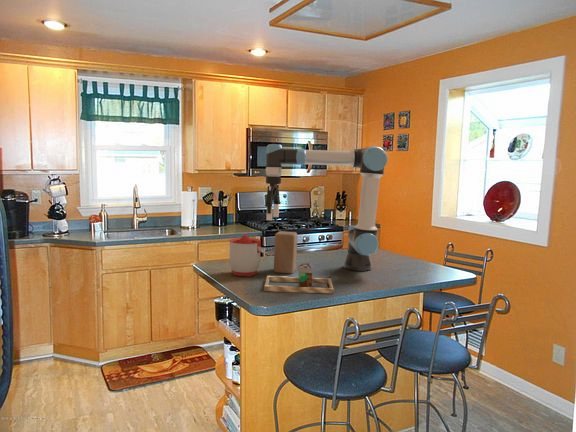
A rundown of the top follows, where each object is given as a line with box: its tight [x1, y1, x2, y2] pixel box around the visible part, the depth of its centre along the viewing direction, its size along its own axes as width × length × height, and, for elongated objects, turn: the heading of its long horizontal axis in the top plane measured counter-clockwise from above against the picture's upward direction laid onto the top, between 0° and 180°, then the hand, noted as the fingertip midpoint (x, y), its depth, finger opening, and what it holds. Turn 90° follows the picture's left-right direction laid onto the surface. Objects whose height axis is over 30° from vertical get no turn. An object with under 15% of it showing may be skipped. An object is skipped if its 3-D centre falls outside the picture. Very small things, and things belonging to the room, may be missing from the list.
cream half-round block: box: [296, 262, 314, 287], centre depth 203 cm, size 12×6×10 cm, turn 5°
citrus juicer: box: [228, 234, 265, 277], centre depth 221 cm, size 16×17×20 cm
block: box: [273, 230, 298, 274], centre depth 230 cm, size 10×10×20 cm
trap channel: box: [263, 275, 335, 294], centre depth 203 cm, size 30×17×2 cm, turn 89°
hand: (272, 218), depth 224 cm, fingers open, 13 cm apart
